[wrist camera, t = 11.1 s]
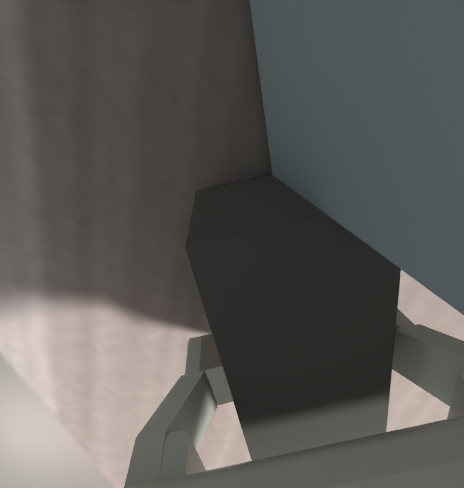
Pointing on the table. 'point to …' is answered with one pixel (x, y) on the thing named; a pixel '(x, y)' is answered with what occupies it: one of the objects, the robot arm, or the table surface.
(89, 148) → the table surface
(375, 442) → the robot arm
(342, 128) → the door panel
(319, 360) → the block
